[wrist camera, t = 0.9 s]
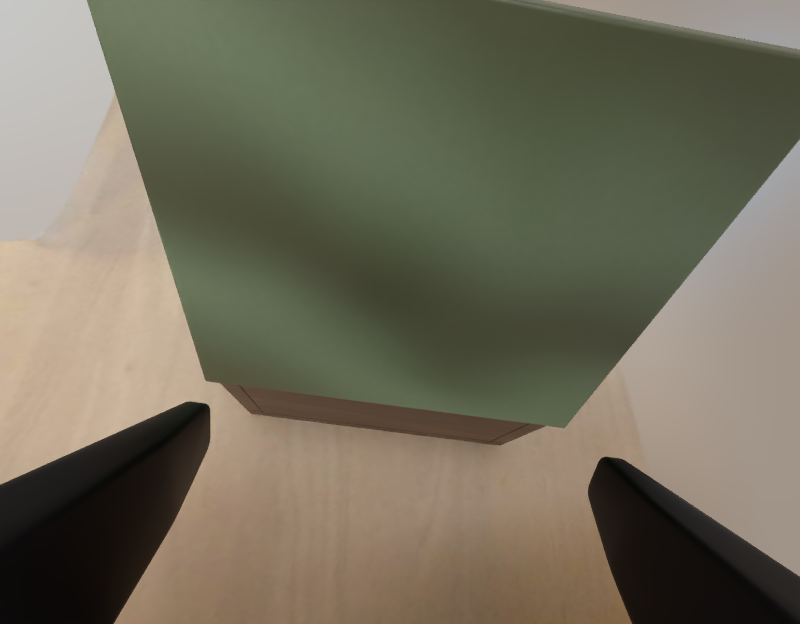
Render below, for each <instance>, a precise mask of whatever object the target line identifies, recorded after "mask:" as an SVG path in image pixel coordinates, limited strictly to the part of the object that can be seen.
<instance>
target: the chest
mask: <svg viewBox="0 0 800 624" xmlns="http://www.w3.org/2000/svg"><path fill="white" fill-rule="evenodd" d="M220 384H221V385H223V386H224V387H225V388H226V389H227V390H228V391H229V392H230V393H231V394H232V395H233V396H234V397H235V398H236V399H237V400H238V401H239V402H240V403H241V404H242V405H243V406H244V407H245V408H246V409H247V410H248V411H249V412H250V413H251V414H258V415H266V416H274V417H281V418H289V419H297V420H305V421H313V422H321V423H329V424H336V425H344V426H352V427H360V428H368V429H376V430H383V431H391V432H399V433H407V434H415V435H423V436H431V437H438V438H446V439H454V440H462V441H470V442H478V443H486V444H493V445H502V444H504V443H507V442H509V441H511V440H514V439H516V438H518V437H521V436H523V435H526V434H528V433H530V432H533V431H535V430H538V429H540V428H542V427H545V425H537V424H529V423H522V422H514V421H507V420H499V419H491V418H484V417H476V416H468V415H461V414H453V413H445V412H438V411H430V410H423V409H415V408H407V407H400V406H392V405H384V404H377V403H369V402H361V401H354V400H346V399H339V398H331V397H323V396H316V395H308V394H300V393H293V392H285V391H277V390H270V389H262V388H255V387H247V386H239V385H232V384H224V383H220Z"/></svg>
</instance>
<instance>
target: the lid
mask: <svg viewBox="0 0 800 624" xmlns="http://www.w3.org/2000/svg"><path fill="white" fill-rule="evenodd" d="M87 2H88V5H89V8H90V11H91V15H92V18H93V21H94V24H95V27H96V31H97V34H98V37H99V41H100V44H101V47H102V50H103V53H104V56H105V60H106V63H107V66H108V69H109V73H110V76H111V79H112V82H113V85H114V89H115V92H116V95H117V98H118V102H119V105H120V108H121V111H122V114H123V118H124V121H125V124H126V127H127V130H128V134H129V137H130V140H131V143H132V146H133V150H134V153H135V156H136V159H137V162H138V166H139V169H140V172H141V175H142V178H143V182H144V185H145V188H146V191H147V195H148V198H149V201H150V204H151V207H152V211H153V214H154V217H155V220H156V223H157V227H158V230H159V233H160V236H161V239H162V243H163V246H164V249H165V252H166V255H167V259H168V262H169V265H170V268H171V271H172V275H173V278H174V281H175V284H176V287H177V291H178V294H179V297H180V300H181V304H182V307H183V310H184V313H185V316H186V320H187V323H188V326H189V329H190V332H191V336H192V339H193V342H194V345H195V348H196V352H197V355H198V358H199V361H200V364H201V368H202V371H203V374H204V377H205V380H206V381H209V382H216V383H224V384H232V385H239V386H247V387H255V388H262V389H270V390H277V391H285V392H293V393H300V394H308V395H316V396H323V397H331V398H339V399H346V400H354V401H361V402H369V403H377V404H384V405H392V406H400V407H407V408H415V409H423V410H430V411H438V412H445V413H453V414H461V415H468V416H476V417H484V418H491V419H499V420H507V421H514V422H522V423H529V424H537V425H545V426H552V427H560V428H564V427H566V425H567V424H568V423H569V422H570V420H571V419H572V418H573V417H574V416H575V414H576V413H577V412H578V411H579V409H580V408H581V407H582V406H583V405H584V403H585V402H586V401H587V400H588V398H589V397H590V396H591V395H592V394H593V392H594V391H595V390H596V389H597V387H598V386H599V385H600V384H601V382H602V381H603V380H604V379H605V378H606V376H607V375H608V374H609V373H610V371H611V370H612V369H613V368H614V367H615V365H616V364H617V363H618V362H619V360H620V359H621V358H622V357H623V355H624V354H625V353H626V352H627V351H628V349H629V348H630V347H631V346H632V344H633V343H634V342H635V341H636V340H637V338H638V337H639V336H640V335H641V333H642V332H643V331H644V330H645V328H646V327H647V326H648V325H649V324H650V322H651V321H652V320H653V319H654V317H655V316H656V315H657V314H658V313H659V311H660V310H661V309H662V308H663V306H664V305H665V304H666V303H667V302H668V300H669V299H670V298H671V297H672V295H673V294H674V293H675V292H676V290H677V289H678V288H679V287H680V286H681V284H682V283H683V282H684V281H685V279H686V278H687V277H688V276H689V274H690V273H691V272H692V271H693V270H694V268H695V267H696V266H697V265H698V263H699V262H700V261H701V260H702V259H703V257H704V256H705V255H706V254H707V252H708V251H709V250H710V249H711V248H712V246H713V245H714V244H715V243H716V241H717V240H718V239H719V238H720V236H721V235H722V234H723V233H724V232H725V230H726V229H727V228H728V227H729V225H730V224H731V223H732V222H733V220H734V219H735V218H736V217H737V216H738V214H739V213H740V212H741V211H742V210H743V208H744V207H745V206H746V205H747V203H748V202H749V201H750V200H751V198H752V197H753V196H754V195H755V193H756V192H757V191H758V190H759V189H760V187H761V186H762V185H763V184H764V183H765V181H766V180H767V179H768V178H769V176H770V175H771V174H772V173H773V171H774V170H775V169H776V168H777V167H778V165H779V164H780V163H781V162H782V160H783V159H784V158H785V157H786V156H787V154H788V153H789V152H790V151H791V149H792V148H793V147H794V146H795V144H796V143H797V142H798V141H799V139H800V50H798V49H793V48H788V47H783V46H777V45H771V44H767V43H762V42H756V41H751V40H746V39H741V38H736V37H730V36H725V35H720V34H714V33H709V32H704V31H699V30H693V29H689V28H684V27H678V26H673V25H668V24H663V23H657V22H652V21H647V20H642V19H636V18H631V17H626V16H621V15H616V14H610V13H605V12H600V11H595V10H590V9H585V8H579V7H574V6H569V5H563V4H558V3H553V2H548V1H542V0H87Z"/></svg>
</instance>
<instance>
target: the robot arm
mask: <svg viewBox="0 0 800 624" xmlns="http://www.w3.org/2000/svg"><path fill="white" fill-rule="evenodd" d="M209 443H210V408H209V406H208V405H207V404H204V403H197V402H185V403H183V404H181V405H178V406H176V407H174V408H172V409H169V410H167V411H165V412H163V413H160V414H158V415H156V416H154V417H151V418H149V419H147V420H145V421H142V422H140V423H138V424H136V425H133V426H131V427H129V428H127V429H124V430H122V431H120V432H118V433H116V434H113V435H111V436H109V437H107V438H104V439H102V440H100V441H98V442H95V443H93V444H91V445H89V446H86V447H84V448H82V449H80V450H77V451H75V452H73V453H71V454H68V455H66V456H64V457H62V458H59V459H57V460H55V461H53V462H50V463H48V464H46V465H44V466H41V467H39V468H37V469H35V470H32V471H30V472H28V473H26V474H23V475H21V476H19V477H17V478H14V479H12V480H10V481H8V482H5V483H3V484H1V485H0V624H114V622H115V620H116V619H117V617H118V615H119V614H120V612H121V610H122V609H123V607H124V605H125V604H126V602H127V600H128V599H129V597H130V595H131V594H132V592H133V590H134V589H135V587H136V585H137V583H138V582H139V580H140V578H141V577H142V575H143V573H144V572H145V570H146V568H147V567H148V565H149V563H150V562H151V560H152V558H153V557H154V555H155V553H156V552H157V550H158V548H159V547H160V545H161V543H162V541H163V540H164V538H165V536H166V535H167V533H168V531H169V530H170V528H171V526H172V524H173V522H174V521H175V519H176V517H177V515H178V512H179V510H180V508H181V506H182V504H183V502H184V500H185V497H186V495H187V493H188V491H189V489H190V487H191V484H192V482H193V480H194V478H195V476H196V474H197V471H198V469H199V467H200V465H201V463H202V461H203V458H204V456H205V454H206V452H207V449H208V447H209ZM588 497H589V501H590V504H591V508H592V511H593V514H594V518H595V521H596V524H597V527H598V531H599V534H600V537H601V541H602V544H603V547H604V551H605V554H606V557H607V560H608V563H609V566H610V569H611V572H612V575H613V577H614V580H615V583H616V585H617V588H618V590H619V593H620V595H621V598H622V600H623V602H624V605H625V607H626V610H627V612H628V615H629V617H630V620H631V622H632V624H800V577H799V576H798V575H796V574H795V573H793V572H792V571H790V570H789V569H787V568H786V567H784V566H783V565H781V564H780V563H778V562H777V561H775V560H773V559H772V558H771V557H769V556H768V555H766V554H765V553H763V552H762V551H760V550H759V549H757V548H756V547H754V546H752V545H751V544H750V543H748V542H747V541H745V540H744V539H742V538H741V537H739V536H738V535H736V534H735V533H733V532H732V531H730V530H729V529H727V528H726V527H724V526H723V525H721V524H720V523H718V522H716V521H715V520H714V519H712V518H711V517H709V516H708V515H706V514H705V513H703V512H702V511H700V510H699V509H697V508H695V507H694V506H693V505H691V504H689V503H688V502H687V501H685V500H684V499H682V498H681V497H679V496H678V495H676V494H674V493H673V492H672V491H670V490H668V489H667V488H665V487H664V486H662V485H661V484H659V483H658V482H656V481H655V480H653V479H652V478H650V477H649V476H647V475H646V474H644V473H643V472H641V471H640V470H638V469H637V468H635V467H634V466H632V465H631V464H629V463H628V462H626V461H625V460H623V459H619V458H611V457H603V458H601V459H600V460H599V462H598V464H597V467H596V469H595V472H594V474H593V477H592V479H591V482H590V484H589V488H588Z"/></svg>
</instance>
